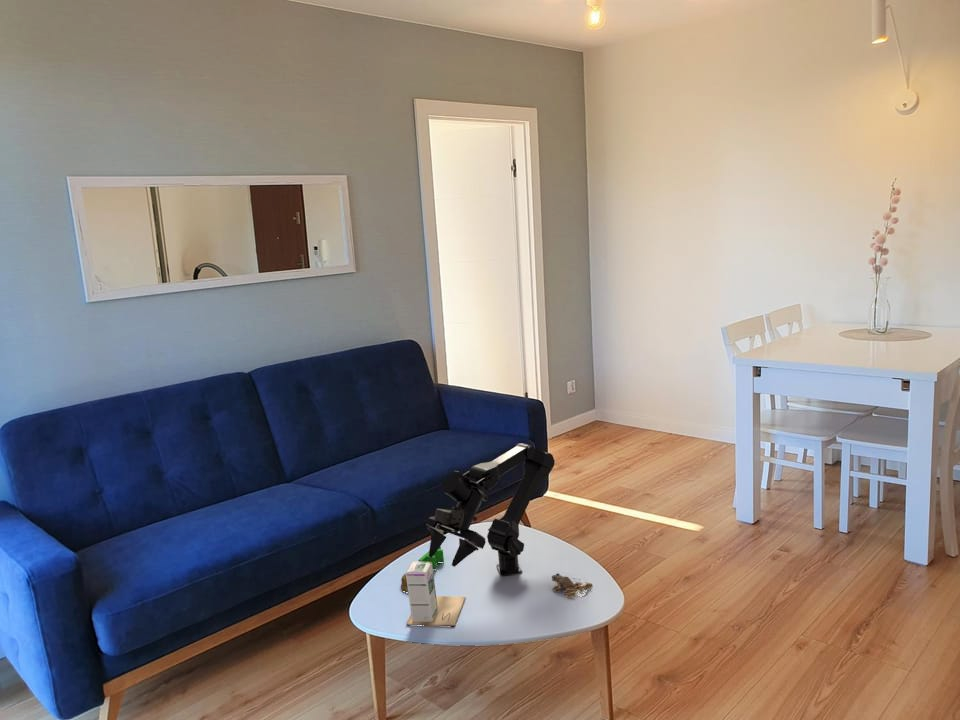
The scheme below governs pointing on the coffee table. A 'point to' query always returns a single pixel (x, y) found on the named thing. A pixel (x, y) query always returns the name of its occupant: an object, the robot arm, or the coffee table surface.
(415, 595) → the syrup box
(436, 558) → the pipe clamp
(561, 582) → the frog figurine
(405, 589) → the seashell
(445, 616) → the board
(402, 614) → the coffee table surface
